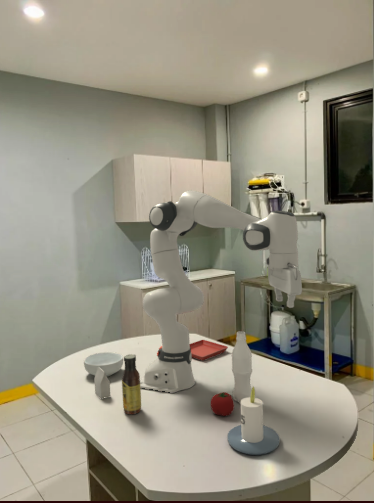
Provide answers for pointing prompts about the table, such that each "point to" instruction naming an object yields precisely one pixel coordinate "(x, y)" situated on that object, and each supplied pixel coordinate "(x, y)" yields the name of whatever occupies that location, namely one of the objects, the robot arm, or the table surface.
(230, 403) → the tomato
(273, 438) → the candle dish
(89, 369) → the cereal bowl
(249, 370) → the water bottle
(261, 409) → the candle
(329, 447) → the table surface
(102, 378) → the small milk carton
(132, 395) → the sauce bottle
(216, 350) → the plant saucer
